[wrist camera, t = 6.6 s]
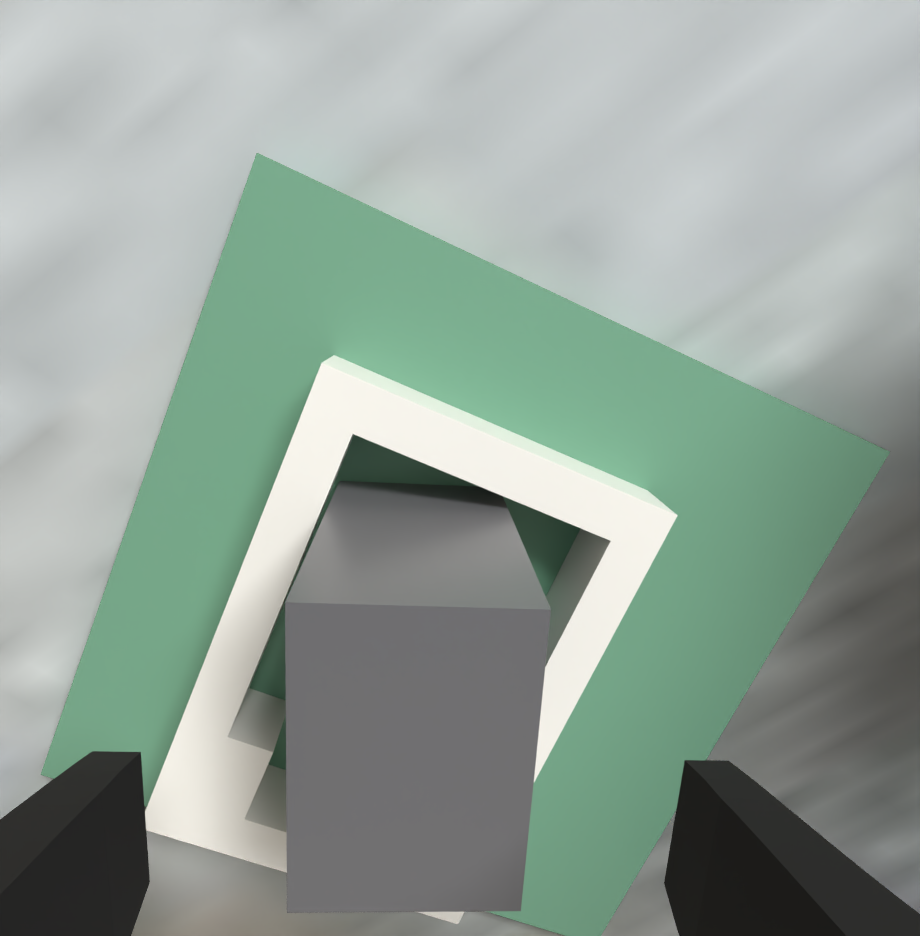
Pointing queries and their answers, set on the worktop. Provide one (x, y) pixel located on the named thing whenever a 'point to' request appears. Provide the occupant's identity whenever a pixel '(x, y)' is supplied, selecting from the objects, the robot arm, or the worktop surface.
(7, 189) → the worktop surface
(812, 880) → the robot arm
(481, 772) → the plug
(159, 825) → the header board
